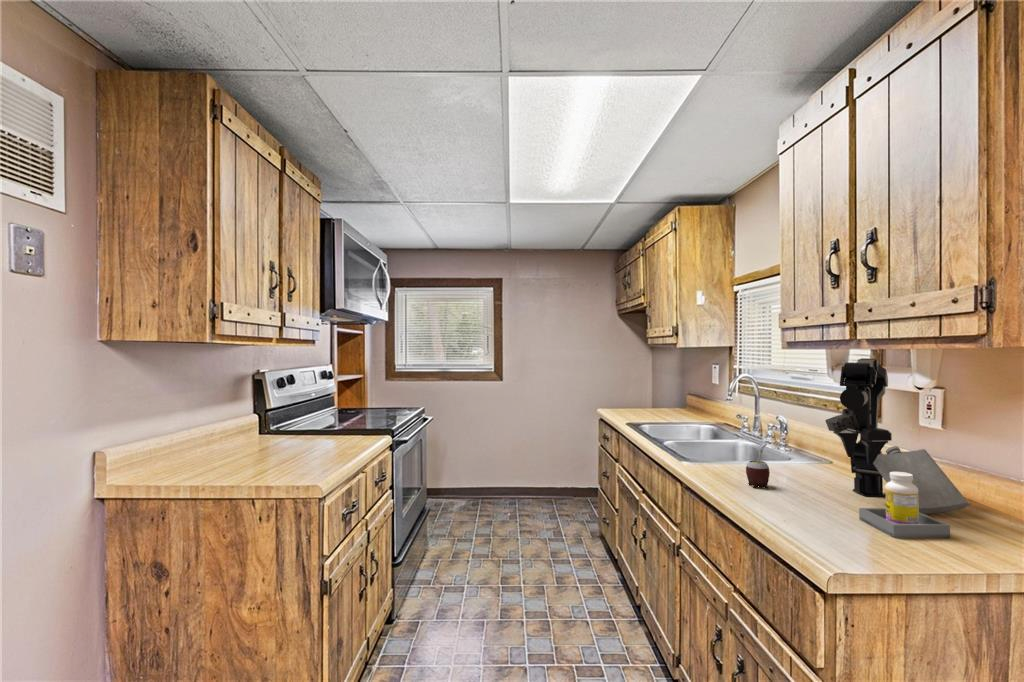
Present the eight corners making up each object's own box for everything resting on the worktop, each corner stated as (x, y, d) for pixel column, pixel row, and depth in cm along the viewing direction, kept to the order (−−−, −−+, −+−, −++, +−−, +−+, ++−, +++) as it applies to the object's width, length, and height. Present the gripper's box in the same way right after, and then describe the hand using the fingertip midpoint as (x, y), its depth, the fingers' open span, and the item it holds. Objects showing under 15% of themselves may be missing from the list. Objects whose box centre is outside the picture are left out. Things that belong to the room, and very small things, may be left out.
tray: (910, 519, 135) (909, 508, 135) (950, 537, 122) (949, 525, 122) (859, 519, 135) (859, 508, 135) (893, 537, 122) (893, 525, 122)
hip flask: (911, 508, 136) (867, 447, 151) (905, 516, 139) (862, 456, 154) (971, 502, 136) (921, 441, 151) (964, 510, 139) (916, 450, 154)
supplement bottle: (887, 518, 133) (886, 469, 133) (920, 524, 129) (919, 473, 129) (884, 525, 128) (883, 473, 128) (917, 531, 124) (916, 478, 124)
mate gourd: (751, 482, 173) (750, 438, 173) (776, 487, 167) (775, 441, 167) (741, 486, 168) (741, 441, 168) (766, 491, 162) (766, 444, 162)
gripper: (812, 402, 156) (813, 453, 156) (849, 410, 138) (851, 468, 137) (849, 402, 156) (850, 453, 156) (892, 409, 137) (893, 468, 137)
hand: (859, 460), depth 146 cm, fingers open, 9 cm apart
